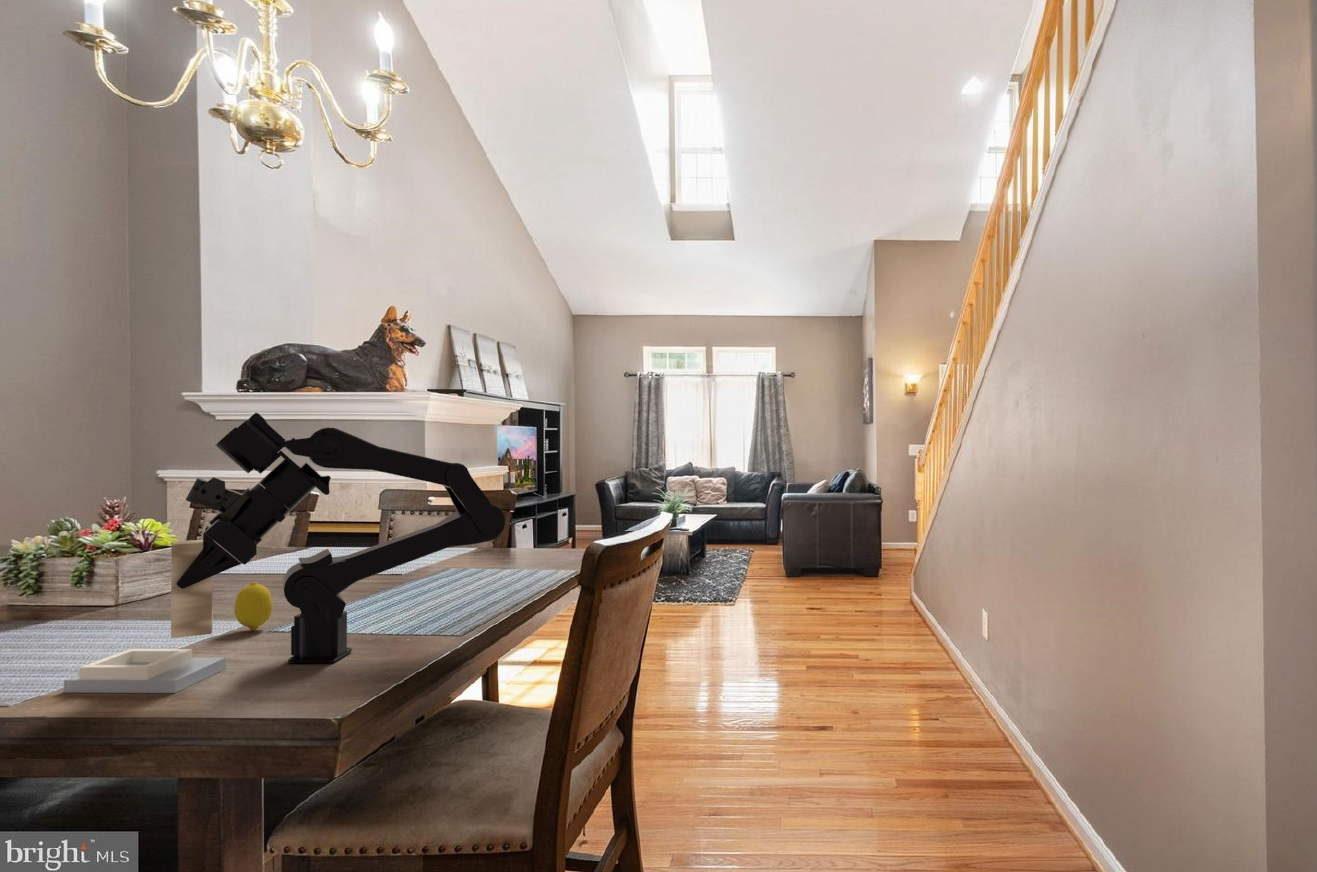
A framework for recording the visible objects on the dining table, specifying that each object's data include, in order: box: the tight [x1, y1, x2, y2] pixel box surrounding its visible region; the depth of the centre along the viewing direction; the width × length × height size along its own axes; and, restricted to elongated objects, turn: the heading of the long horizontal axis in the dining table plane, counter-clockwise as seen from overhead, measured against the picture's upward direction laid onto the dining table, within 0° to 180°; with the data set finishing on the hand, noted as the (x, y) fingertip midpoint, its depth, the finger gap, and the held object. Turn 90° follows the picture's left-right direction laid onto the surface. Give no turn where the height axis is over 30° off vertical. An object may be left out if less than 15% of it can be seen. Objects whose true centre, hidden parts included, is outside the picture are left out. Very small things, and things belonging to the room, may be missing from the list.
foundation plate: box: [63, 648, 226, 694], centre depth 97 cm, size 14×10×3 cm
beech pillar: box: [170, 539, 214, 639], centre depth 99 cm, size 4×4×12 cm
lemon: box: [233, 581, 274, 631], centre depth 123 cm, size 6×6×8 cm
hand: (180, 583), depth 99 cm, fingers closed on beech pillar, 4 cm apart
